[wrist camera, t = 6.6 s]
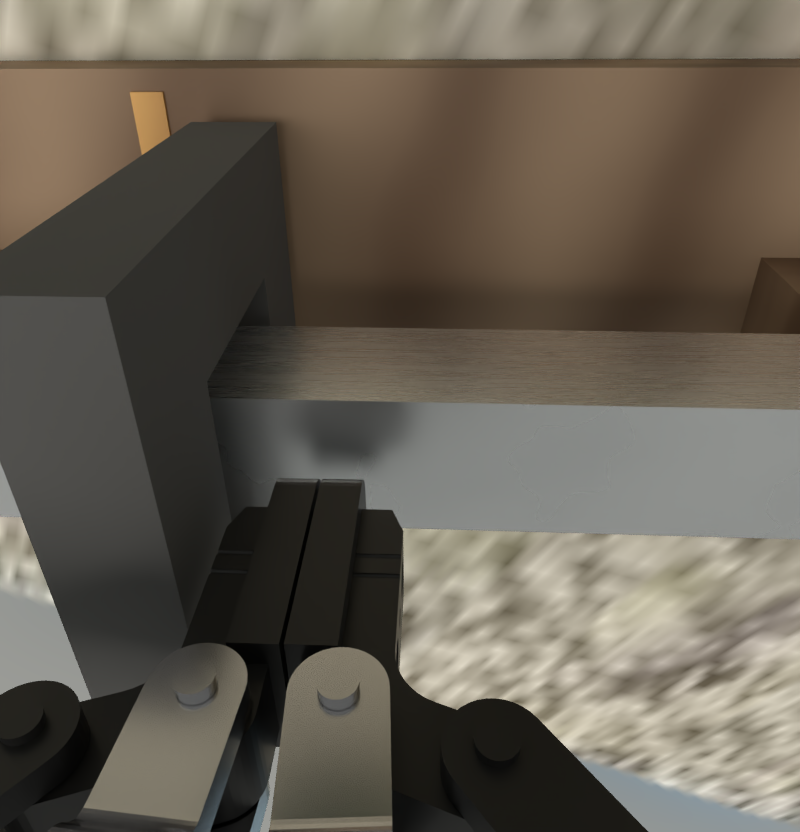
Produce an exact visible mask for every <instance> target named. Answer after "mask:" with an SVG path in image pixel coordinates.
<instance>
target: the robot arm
mask: <svg viewBox="0 0 800 832" xmlns="http://www.w3.org/2000/svg"><path fill="white" fill-rule="evenodd" d="M403 597H404V572H403V530H402V528H401V526H400V524H399V522H398V520H397V518H396V516H395V514H394V512H393V510H379V509H366V494H365V482H364V480H356V479H322V480H320V479H301V478H278V479H277V480H276V483H275V485H274V489H273V492H272V495H271V498H270V501H269V505H268V507H245V508H244V509H243V510H242V511H241V512H240V513H239V515H238V516H237V517H236V518H235V519H234V520H233V521H232V522H231V523H230V524H229V525H228V526H227V527H226V530H225V533H224V535H223V538H222V541H221V543H220V546H219V549H218V554H216V557H215V559H214V562H213V565H212V567H211V574H209V575H208V578H207V581H206V583H205V586H204V589H203V591H202V594H201V597H200V599H199V602H198V605H197V608H196V610H195V613H194V616H193V618H192V621H191V624H190V626H189V629H188V632H187V634H186V637H185V640H184V642H183V645H182V647H181V649H179V650H177V651H175V652H173V653H171V654H170V655H168V656H167V657H165V658H164V659H163V660H162V661H161V662H160V663H158V664H157V665H156V667H155V668H154V669H153V670H152V671H151V673H150V675H149V676H148V678H147V680H146V682H145V683H144V684H142V685H139V686H137V687H135V688H132V689H129V690H125V691H122V692H118V693H114V694H110V695H106V696H102V697H98V698H94V699H90V700H86V701H82V702H79V700H78V697H77V696H76V694H75V693H74V691H73V690H72V689H71V688H69V687H68V686H66V685H64V684H62V683H59V682H55V681H36V682H30V683H26V684H23V685H20V686H17V687H15V688H13V689H10V690H8V691H6V692H5V693H3V694H1V695H0V832H260V829H261V825H262V822H263V818H264V815H265V811H266V808H267V804H268V800H269V792H270V791H269V789H270V787H269V781H268V780H269V776H270V772H271V766H272V762H273V757H274V752H275V748H276V747H280V748H279V757H278V765H277V773H276V781H275V790H274V797H273V806H272V815H271V822H270V828H269V832H648V831H647V830H646V829H645V828H644V827H643V826H642V825H641V824H640V823H639V822H638V821H637V820H636V819H635V818H634V817H633V816H632V815H631V814H630V813H629V812H628V811H627V810H626V809H625V808H624V807H623V805H621V803H620V802H619V801H618V800H616V798H615V797H614V796H613V795H612V794H611V793H610V792H609V791H608V790H607V789H606V788H605V787H604V786H603V785H602V784H601V783H600V782H599V781H598V780H597V779H596V778H595V777H594V776H593V775H592V774H591V773H590V772H589V771H588V770H587V769H586V768H585V766H584V765H583V764H582V763H581V762H580V761H579V760H578V759H577V758H576V757H575V756H574V755H573V754H572V753H571V752H570V751H569V750H568V749H567V748H566V747H565V746H564V745H563V744H562V743H561V742H560V741H559V740H558V739H557V738H556V737H555V736H554V735H553V734H552V733H551V732H550V731H549V730H548V729H547V727H546V726H545V725H544V724H543V723H542V722H541V721H540V720H539V719H538V718H537V717H536V716H534V715H533V714H532V713H531V712H530V711H528V710H527V709H525V708H524V707H522V706H520V705H518V704H516V703H513V702H510V701H507V700H502V699H481V700H476V701H473V702H470V703H468V704H466V705H464V706H462V707H461V708H459V709H458V710H455V709H453V708H450V707H447V706H444V705H441V704H439V703H436V702H433V701H431V700H429V699H426V698H425V697H423V696H421V695H420V694H418V693H417V692H416V691H414V690H413V689H412V688H411V687H410V686H409V685H408V684H407V683H406V682H405V680H404V679H403V677H402V676H401V674H400V672H399V665H400V648H401V631H402V614H403Z"/></svg>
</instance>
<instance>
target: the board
mask: <svg viewBox="0 0 800 832" xmlns="http://www.w3.org/2000/svg"><path fill="white" fill-rule="evenodd" d="M190 122H276V125H277V135H278V146H279V156H280V167H281V177H282V187H283V198H284V208H285V219H286V229H287V240H288V250H289V260H290V271H291V281H292V292H293V302H294V312H295V323H296V327H359V328H425V329H491V330H557V331H623V332H689V333H755V334H800V59H557V60H175V61H0V251H1V250H3V249H4V248H6V247H7V246H9V245H10V244H12V243H13V242H15V241H16V240H18V239H19V238H21V237H22V236H23V235H25V234H26V233H28V232H29V231H31V230H32V229H34V228H35V227H37V226H38V225H40V224H41V223H43V222H44V221H46V220H47V219H49V218H50V217H51V216H53V215H54V214H56V213H57V212H59V211H60V210H62V209H63V208H65V207H66V206H68V205H69V204H71V203H72V202H74V201H75V200H77V199H78V198H80V197H81V196H82V195H84V194H85V193H87V192H88V191H90V190H91V189H93V188H94V187H96V186H97V185H99V184H100V183H102V182H103V181H105V180H106V179H108V178H109V177H110V176H112V175H113V174H115V173H116V172H118V171H119V170H121V169H122V168H124V167H125V166H127V165H128V164H130V163H131V162H133V161H134V160H136V159H137V158H138V157H140V156H141V155H143V154H144V153H146V152H147V151H149V150H150V149H152V148H153V147H155V146H156V145H158V144H159V143H161V142H162V141H164V140H165V139H167V138H168V137H169V136H171V135H172V134H174V133H175V132H177V131H178V130H180V129H181V128H183V127H184V126H186V125H187V124H189V123H190Z"/></svg>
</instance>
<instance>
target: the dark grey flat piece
mask: <svg viewBox="0 0 800 832" xmlns="http://www.w3.org/2000/svg"><path fill="white" fill-rule="evenodd" d="M238 326H293V327H296V323H295V312H294V302H293V292H292V281H291V271H290V260H289V250H288V240H287V229H286V219H285V208H284V198H283V187H282V177H281V167H280V156H279V146H278V135H277V125H276V122H190V123H189V124H187V125H186V126H184V127H183V128H181V129H180V130H178V131H177V132H175V133H174V134H172V135H171V136H169V137H168V138H167V139H165V140H164V141H162V142H161V143H159V144H158V145H156V146H155V147H153V148H152V149H150V150H149V151H147V152H146V153H144V154H143V155H141V156H140V157H138V158H137V159H136V160H134V161H133V162H131V163H130V164H128V165H127V166H125V167H124V168H122V169H121V170H119V171H118V172H116V173H115V174H113V175H112V176H110V177H109V178H108V179H106V180H105V181H103V182H102V183H100V184H99V185H97V186H96V187H94V188H93V189H91V190H90V191H88V192H87V193H85V194H84V195H82V196H81V197H80V198H78V199H77V200H75V201H74V202H72V203H71V204H69V205H68V206H66V207H65V208H63V209H62V210H60V211H59V212H57V213H56V214H54V215H53V216H51V217H50V218H49V219H47V220H46V221H44V222H43V223H41V224H40V225H38V226H37V227H35V228H34V229H32V230H31V231H29V232H28V233H26V234H25V235H23V236H22V237H21V238H19V239H18V240H16V241H15V242H13V243H12V244H10V245H9V246H7V247H6V248H4V249H3V250H1V251H0V463H1V466H2V468H3V471H4V473H5V476H6V478H7V481H8V484H9V486H10V489H11V491H12V494H13V497H14V499H15V502H16V504H17V507H18V510H19V512H20V515H21V517H22V520H23V523H24V525H25V528H26V530H27V533H28V535H29V538H30V541H31V543H32V546H33V548H34V551H35V554H36V556H37V559H38V561H39V564H40V567H41V569H42V572H43V574H44V577H45V579H46V582H47V585H48V587H49V590H50V592H51V595H52V598H53V600H54V603H55V605H56V608H57V610H58V613H59V616H60V618H61V621H62V623H63V626H64V629H65V631H66V634H67V636H68V639H69V642H70V644H71V647H72V649H73V652H74V654H75V657H76V660H77V662H78V665H79V668H80V670H81V673H82V675H83V678H84V680H85V683H86V686H87V688H88V691H89V693H90V696H91V699H94V698H98V697H102V696H106V695H110V694H114V693H118V692H122V691H125V690H129V689H132V688H135V687H137V686H139V685H142V684H144V683H145V682H146V680H147V678H148V676H149V675H150V673H151V671H152V670H153V669H154V668H155V667H156V665H157V664H158V663H160V662H161V661H162V660H163V659H164V658H165V657H167V656H168V655H170V654H171V653H173V652H175V651H177V650H179V649H181V647H182V645H183V642H184V640H185V637H186V634H187V632H188V629H189V626H190V624H191V621H192V618H193V616H194V613H195V610H196V608H197V605H198V602H199V599H200V597H201V594H202V591H203V589H204V586H205V583H206V581H207V578H208V575H209V574H211V567H212V565H213V562H214V559H215V557H216V554H218V549H219V546H220V543H221V541H222V538H223V535H224V533H225V530H226V527H227V526H228V525H229V524H230V523H231V522H232V521H231V515H230V509H229V504H228V498H227V493H226V487H225V481H224V476H223V470H222V465H221V459H220V453H219V448H218V442H217V437H216V431H215V425H214V420H213V414H212V409H211V403H210V397H209V392H208V386H207V381H208V379H209V378H210V376H211V374H212V372H213V370H214V369H215V367H216V365H217V363H218V361H219V359H220V358H221V356H222V354H223V352H224V350H225V348H226V347H227V345H228V343H229V341H230V339H231V338H232V336H233V334H234V332H235V330H236V328H237V327H238Z"/></svg>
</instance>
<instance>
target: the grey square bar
mask: <svg viewBox="0 0 800 832" xmlns="http://www.w3.org/2000/svg"><path fill="white" fill-rule="evenodd" d="M207 386H208V392H209V397H210V403H211V409H212V414H213V420H214V425H215V431H216V437H217V442H218V448H219V453H220V459H221V465H222V470H223V476H224V481H225V487H226V493H227V498H228V504H229V509H230V515H231V521H233V520H234V519H235V518H236V517H237V516H238V515H239V513H240V512H241V511H242V510H243V509H244V508H245V507H268V505H269V501H270V498H271V495H272V492H273V489H274V485H275V483H276V480H277V479H278V478H301V479H320V480H322V479H356V480H364V482H365V494H366V509H379V510H393V512H394V514H395V516H396V518H397V520H398V522H399V524H400V526H401V528H418V529H453V530H488V531H523V532H558V533H594V534H629V535H664V536H699V537H734V538H770V539H800V334H755V333H689V332H623V331H557V330H491V329H425V328H359V327H293V326H238V327H237V328H236V330H235V332H234V334H233V336H232V338H231V339H230V341H229V343H228V345H227V347H226V348H225V350H224V352H223V354H222V356H221V358H220V359H219V361H218V363H217V365H216V367H215V369H214V370H213V372H212V374H211V376H210V378H209V379H208V381H207ZM0 517H21V515H20V512H19V510H18V507H17V504H16V502H15V499H14V497H13V494H12V491H11V489H10V486H9V484H8V481H7V478H6V476H5V473H4V471H3V468H2V466H1V463H0Z"/></svg>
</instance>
